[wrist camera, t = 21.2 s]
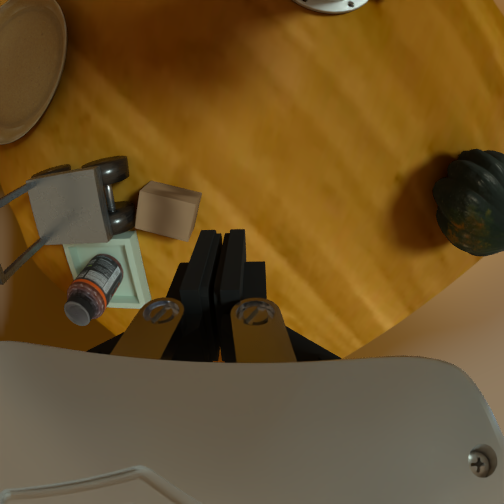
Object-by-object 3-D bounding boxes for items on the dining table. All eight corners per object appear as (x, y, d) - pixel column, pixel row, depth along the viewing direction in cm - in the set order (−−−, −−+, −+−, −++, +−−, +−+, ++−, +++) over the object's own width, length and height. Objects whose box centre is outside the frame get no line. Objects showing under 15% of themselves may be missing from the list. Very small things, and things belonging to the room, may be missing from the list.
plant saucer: (-34, 57, 25) (-46, 58, 22) (60, -33, 21) (48, -38, 18) (-2, 165, 36) (-15, 171, 33) (99, 86, 32) (87, 87, 29)
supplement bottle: (113, 290, 46) (85, 338, 36) (85, 267, 44) (51, 311, 34) (132, 269, 44) (103, 318, 34) (102, 244, 42) (66, 287, 32)
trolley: (133, 153, 36) (57, 198, 20) (143, 217, 40) (85, 291, 25) (47, 167, 36) (-36, 213, 21) (59, 222, 41) (-10, 285, 25)
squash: (429, 146, 29) (494, 261, 24) (505, 119, 27) (565, 215, 21) (411, 199, 42) (453, 287, 37) (477, 171, 40) (519, 249, 34)
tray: (135, 230, 41) (129, 238, 39) (151, 299, 47) (147, 308, 45) (69, 233, 41) (61, 241, 39) (89, 296, 47) (83, 305, 45)
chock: (202, 192, 39) (195, 204, 35) (194, 226, 41) (187, 241, 37) (151, 180, 38) (139, 190, 34) (146, 214, 40) (134, 228, 36)
